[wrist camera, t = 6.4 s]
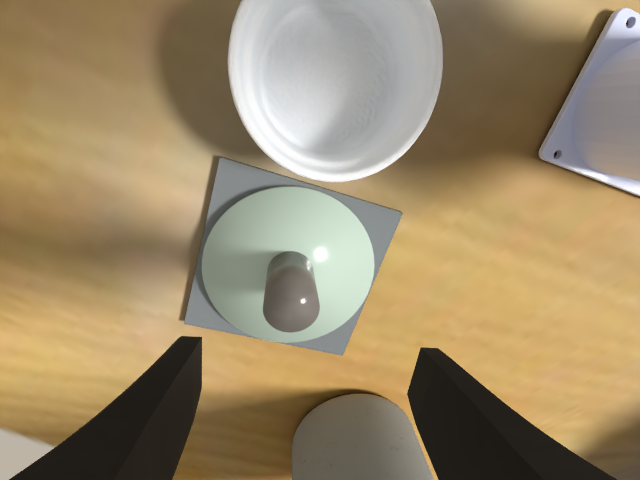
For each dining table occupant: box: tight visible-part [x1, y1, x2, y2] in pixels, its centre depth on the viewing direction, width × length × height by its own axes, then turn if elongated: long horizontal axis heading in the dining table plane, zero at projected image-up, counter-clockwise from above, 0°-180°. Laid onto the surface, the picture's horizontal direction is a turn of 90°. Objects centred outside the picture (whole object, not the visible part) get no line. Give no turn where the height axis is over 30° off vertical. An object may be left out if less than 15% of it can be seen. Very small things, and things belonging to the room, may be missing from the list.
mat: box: [184, 157, 403, 356], centre depth 20 cm, size 11×11×1 cm
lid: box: [202, 186, 374, 343], centre depth 18 cm, size 10×10×5 cm
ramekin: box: [228, 0, 443, 182], centre depth 15 cm, size 9×9×4 cm
